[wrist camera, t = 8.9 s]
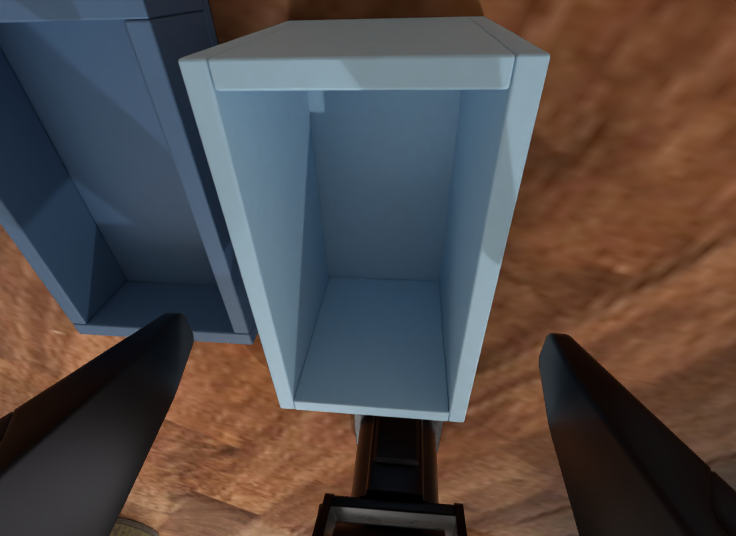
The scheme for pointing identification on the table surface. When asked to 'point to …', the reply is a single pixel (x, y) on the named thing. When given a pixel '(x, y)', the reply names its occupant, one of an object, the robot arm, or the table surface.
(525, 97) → the top bin
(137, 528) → the thermos
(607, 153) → the table surface
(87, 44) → the lower bin
